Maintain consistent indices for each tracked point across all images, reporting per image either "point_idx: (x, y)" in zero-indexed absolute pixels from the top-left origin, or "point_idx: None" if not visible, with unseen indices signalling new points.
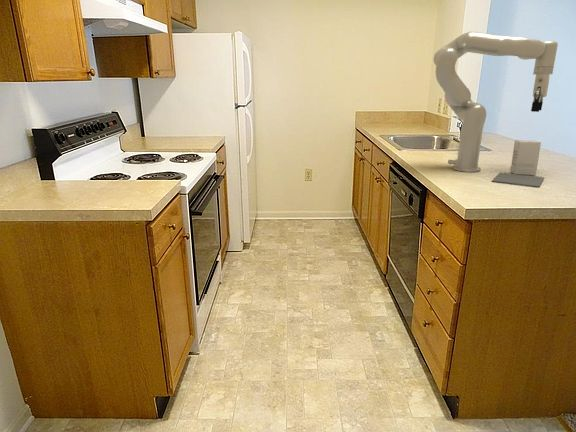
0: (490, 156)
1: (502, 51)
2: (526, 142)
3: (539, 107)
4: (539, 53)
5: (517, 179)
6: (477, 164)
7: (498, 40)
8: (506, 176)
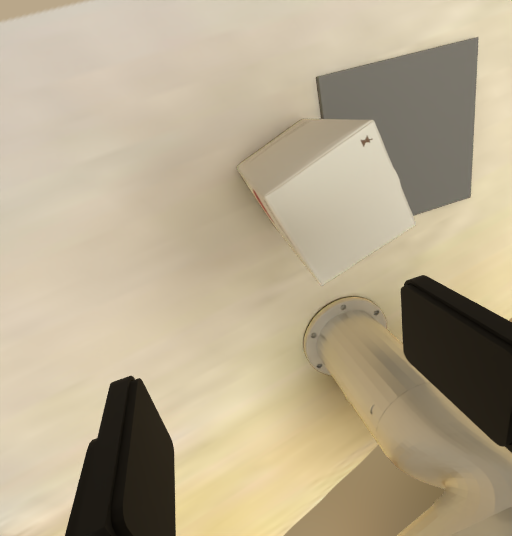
0: (18, 433)
1: None
2: (402, 192)
3: (466, 301)
4: None
5: (414, 143)
6: (353, 318)
7: None
8: None
